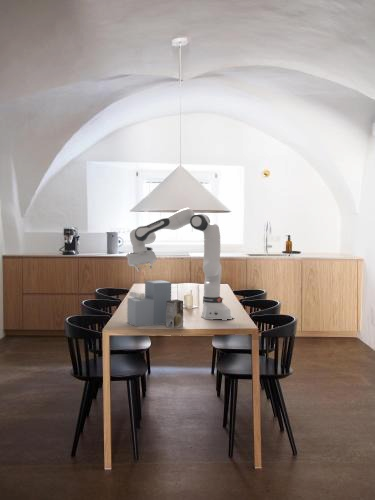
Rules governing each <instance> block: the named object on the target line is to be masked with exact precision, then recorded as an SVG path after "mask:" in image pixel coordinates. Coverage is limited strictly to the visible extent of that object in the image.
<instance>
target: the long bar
mask: <svg viewBox="0 0 375 500" xmlns="http://www.w3.org/2000/svg"><path fill="white" fill-rule="evenodd" d="M129 297H130V298H137V299H139V300H145V292H144V293H143V292H142V293H141V292H140V293H139V292H138V293H137V292H134V291H129Z"/></svg>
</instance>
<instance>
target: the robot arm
mask: <svg viewBox="0 0 375 500" xmlns="http://www.w3.org/2000/svg"><path fill="white" fill-rule="evenodd" d="M208 216H209V215H207V214H203V213H195V212H194V210H192V208H190V207H186V208H182V209H179V210H178V211H176V212H174V213H172V214H170V215H168V216H165V217H163V218H161V219H158V220H156V221H154V222H151V223H149V224H147V225H141V226H138V227H137V228H134V229H132V230H131V231H130V232H129V239H130V243H131V245H132V252H128V253H126V259H127V264H128V266H129V267H134V268H135V269H136V271H137V272H139V271H140V267H138V266H139V265H140V266H141V265H144V264H145V265H146V264H150V265H149V266H148V267H149V269H153V263H155V262H157V255H156V253H155V251H153V247H151V246H146V245H150V244H152V243H154V242H155V240H156V237H157V236H156V232H158V231H161V230H172V231H175V230H179V229H181V228H183V227H185V226H187V225H190V226H191V228H192V229H195V230H197V231H200V232H203V239H204V240H203V248H204V249H203V260H202V261H203V264H202V266H203V267H202V271H203V274H204V283H203V297H202V305H203V306H202V310H201V314H200V317H201V318H203V319H205V320H213V319H222V320H221V321H228V320H227V319H231V318H233V317H234V318H235V316H234V315H232V313H231V308H230V307H228V306H227V305H226V304H225V303H224V302H223V300H224V297H221V281H222V280H221V279H222V264H221V260H220V259H221V233H220V231H221V230H220V227H219V225H218V224H216V223H211V220H210V218H209V217H208ZM234 318H233V319H234ZM231 320H232V319H231Z"/></svg>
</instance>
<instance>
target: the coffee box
mask: <svg viewBox="0 0 375 500" xmlns="http://www.w3.org/2000/svg"><path fill="white" fill-rule="evenodd" d="M165 325H166V326H165V327H166V328H170V329H177V328H180V327H181V328H182V327H183V326H184V300H181V299H171V300H170V301H167V315H166V324H165Z"/></svg>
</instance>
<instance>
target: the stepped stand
mask: <svg viewBox="0 0 375 500" xmlns="http://www.w3.org/2000/svg"><path fill="white" fill-rule="evenodd" d="M144 287H145V288H144V294H145V300H139V299H137V298H134V297H127V306H126V308H127V309H126V310H127V312H126V313H127V315H126V317H127V318H126V320H127V321H126V322H127V323H128V324H130V325H132V326H134V327H141V326H142V327H143V326H144V327H145V326H154V325H166V315H167V301H170V300H172V282H170V281H167V280H160V279H159V280H145V281H144Z"/></svg>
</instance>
